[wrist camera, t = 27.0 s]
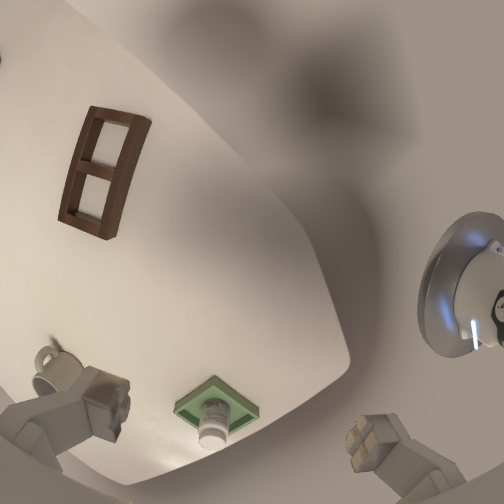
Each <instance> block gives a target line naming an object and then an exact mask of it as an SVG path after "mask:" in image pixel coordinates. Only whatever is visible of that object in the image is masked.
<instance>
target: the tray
mask: <svg viewBox="0 0 504 504" xmlns="http://www.w3.org/2000/svg"><path fill="white" fill-rule="evenodd" d="M211 399H218V400H222V401H224V402H225V403H226V404H228V406H229V408H230V419H229V435H230V434H232V433H234V432H236V431H238V430H239V429H241V428H243V427H245V426H246V425H248V424H250V423H251V422H253V421H255V420H256V419H258V418H259V408H258V407H257V406H255V405H254V404H252V403H251V402H250V401H248V400H247V399H246V398H244V397H243V396H241V395H240V394H239V393H237V392H236V391H235V390H233V389H232V388H231V387H229V386H228V385H227V384H225V383H224V382H223V381H221V380H220V379H219V378H218V377H216V376H214V377H212V378H211V379H209V380H208V381H207V382H205V383H204V384H203V385H201V386H200V387H198V388H197V389H196V390H194V391H193V392H191V393H190V394H188V395H187V396H185V397H184V398H183V399H181V400H180V401H178V402H177V403H176V404H175V407H174V410H173V413H174V414H176V415H177V416H179V417H180V418H181V419H183V420H184V421H186V422H187V423H189V424H190V425H192V426H193V427H195V428H196V429H198V427H199V422H200V416H201V410H202V405H203V404H204V402H206V401H208V400H211ZM229 435H228V436H229Z"/></svg>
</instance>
